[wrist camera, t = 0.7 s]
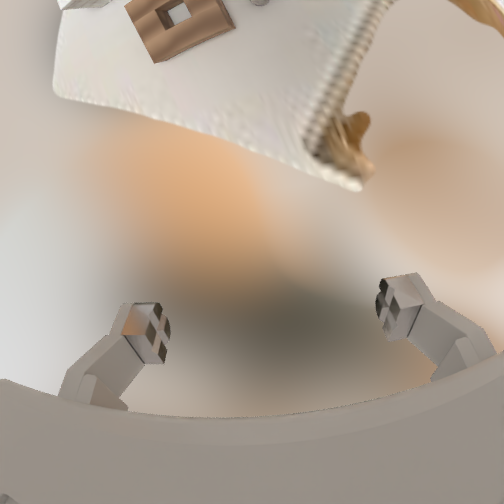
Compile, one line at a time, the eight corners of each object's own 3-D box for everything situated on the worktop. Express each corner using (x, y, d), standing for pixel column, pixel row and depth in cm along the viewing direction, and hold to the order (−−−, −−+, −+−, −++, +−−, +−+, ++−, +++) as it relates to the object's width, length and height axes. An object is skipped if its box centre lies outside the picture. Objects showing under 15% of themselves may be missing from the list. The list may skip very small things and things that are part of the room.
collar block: (138, 6, 30) (124, 6, 27) (204, -30, 25) (195, -36, 22) (166, 60, 39) (154, 63, 35) (235, 28, 34) (229, 26, 30)
